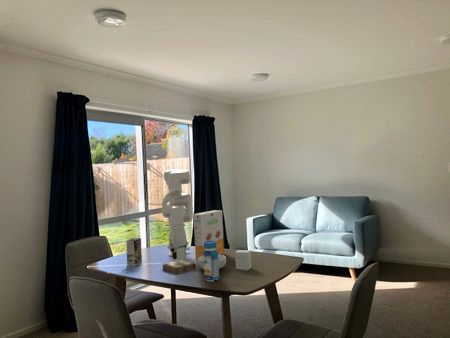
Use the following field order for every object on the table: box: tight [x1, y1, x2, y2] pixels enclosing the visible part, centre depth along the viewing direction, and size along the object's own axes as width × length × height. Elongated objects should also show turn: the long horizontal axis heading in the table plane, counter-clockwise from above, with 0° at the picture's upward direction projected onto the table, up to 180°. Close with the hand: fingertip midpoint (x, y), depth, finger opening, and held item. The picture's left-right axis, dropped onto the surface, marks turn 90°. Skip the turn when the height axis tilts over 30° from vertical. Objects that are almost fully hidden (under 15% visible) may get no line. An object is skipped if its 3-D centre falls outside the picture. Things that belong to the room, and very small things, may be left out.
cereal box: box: [193, 209, 225, 261], centre depth 246 cm, size 22×6×30 cm, turn 143°
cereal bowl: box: [197, 254, 227, 270], centre depth 215 cm, size 17×17×7 cm
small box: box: [234, 249, 252, 270], centre depth 212 cm, size 8×6×10 cm
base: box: [162, 259, 197, 275], centre depth 217 cm, size 14×14×4 cm
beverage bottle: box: [203, 241, 220, 282], centre depth 195 cm, size 8×8×20 cm
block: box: [172, 247, 186, 261], centre depth 217 cm, size 5×5×7 cm
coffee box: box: [125, 237, 143, 267], centre depth 235 cm, size 9×6×16 cm
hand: (178, 257), depth 217 cm, fingers closed on block, 5 cm apart
